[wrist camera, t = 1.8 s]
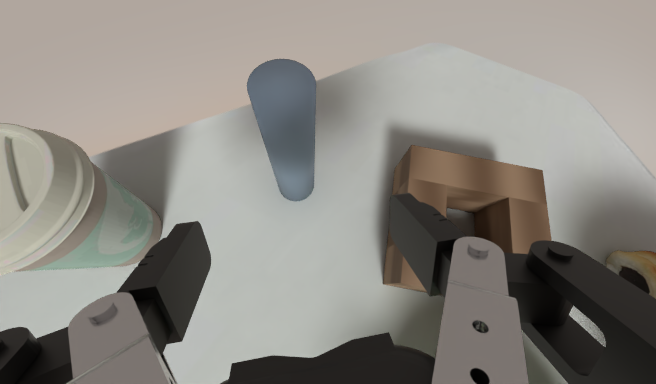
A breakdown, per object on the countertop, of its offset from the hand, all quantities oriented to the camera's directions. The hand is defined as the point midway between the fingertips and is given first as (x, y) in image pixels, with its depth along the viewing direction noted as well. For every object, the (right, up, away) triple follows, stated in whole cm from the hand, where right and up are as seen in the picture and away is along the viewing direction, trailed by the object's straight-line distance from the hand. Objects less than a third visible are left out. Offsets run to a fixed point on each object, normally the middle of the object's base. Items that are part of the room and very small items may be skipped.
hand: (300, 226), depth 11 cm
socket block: (+13, -3, +15) cm, 20 cm away
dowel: (-2, +2, +16) cm, 16 cm away
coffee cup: (-17, -2, +13) cm, 22 cm away
